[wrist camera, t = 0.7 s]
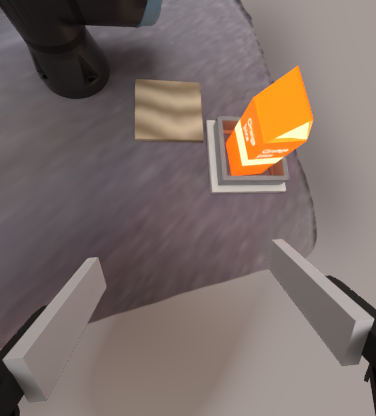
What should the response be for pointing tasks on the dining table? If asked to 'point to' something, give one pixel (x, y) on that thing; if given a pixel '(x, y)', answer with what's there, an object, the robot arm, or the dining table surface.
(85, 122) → the dining table surface
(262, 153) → the orange juice
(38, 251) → the dining table surface
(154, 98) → the oak board
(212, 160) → the collar holder
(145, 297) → the dining table surface
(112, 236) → the dining table surface
